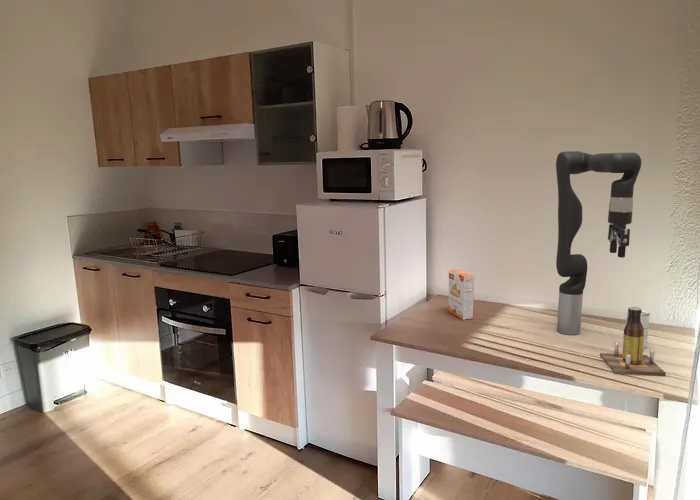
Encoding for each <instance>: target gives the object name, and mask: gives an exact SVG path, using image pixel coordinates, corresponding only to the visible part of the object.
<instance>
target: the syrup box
mask: <svg viewBox="0 0 700 500" xmlns="http://www.w3.org/2000/svg"><path fill="white" fill-rule="evenodd" d="M641 310H642V309H641ZM650 314H651V313H650V312H649V311H646V310H642V312H641V317H640V319H641V320H640V322H641V324H642V325H643V328H644V333H643V334H644V340H643V349H646V348H647V344H648V335H649V324H650V318H651V317H650V316H651V315H650ZM628 316H629V312H628V309H627V311H626V322H625V325H626V324H627V321H628ZM645 347H646V348H645Z"/></svg>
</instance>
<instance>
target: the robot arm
mask: <svg viewBox="0 0 700 500" xmlns="http://www.w3.org/2000/svg"><path fill="white" fill-rule="evenodd" d="M641 168H642V158H641V156H640V155H639V154H638V153H637V152H607V153H606V152H604V153H602V152H601V153H595V154H591V153H586V152H583V151H579V150H578V151H576V150H575V151H561V152H559V153H558V155H557V157H556V162H555V169H556V170H555V171H556V172H555V173H556V183H557V197H558V198H557V200H558V201H557V204H558V205H557V224H558V225H557V227H558V230H557V231H558V235H557V238H558V239H557V248H556V249H557V250H556V259H555V262H556V265H555V266H556V272H557V274H558V275H559V277H562V278H568V279H567V280H566V281H564V282H563V283H561V284H560V285H559V289H558V307H557V322H556V332H557V333H560V334H562V335H568V336H578V335H581V332H582V331H581V328H582V316H583V315H582V313H583V299H584V289H585V288H586V285H587V284H586V283H587V274H588V260H587V258H586V257H585V256H584V255H583V254H578V253H574V254H572V253H571V251H572V250H571V249H572V244H573V241H574V240H575V238H576V235H577V234H578V232H579V230H580V228H581V227H582V224H583V205H582V202H581V201H580V199H579V197H578V195H577V194H576V193H575V191H574V189H573V187H572V183H571V175H579V174H583V173H586V172H587V173H588V172H592V171H593V172H595V173H604V174H605V173H609V174H622V177H621V178H620V179H616V180H613V181H612V182H611V185H610V197H609V198H610V199H609V203H608V215H607V222H608V224H609V225H608V235H607V241H609V253H610V254H616V253H617V257H618V258H625V257H626V249H627V247H629V246H630V235H631V229H630V228H627V225H631V224H632V223H633V212H634V211H633V210H634V198H633V197H634V191H635V189H634V188H635V187H634V186H635V184H636V181H637V179H638V176H639V173H640V171H641ZM617 248H618V249H617Z"/></svg>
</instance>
